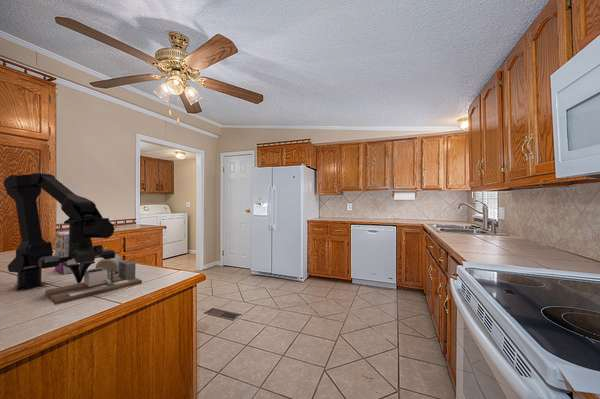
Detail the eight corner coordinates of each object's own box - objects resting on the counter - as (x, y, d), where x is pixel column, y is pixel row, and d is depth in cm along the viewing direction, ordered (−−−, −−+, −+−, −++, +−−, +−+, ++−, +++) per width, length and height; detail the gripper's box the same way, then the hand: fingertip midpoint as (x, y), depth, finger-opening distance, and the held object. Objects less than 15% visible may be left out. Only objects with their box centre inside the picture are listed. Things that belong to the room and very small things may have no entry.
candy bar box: (53, 270, 104) (54, 232, 104) (69, 267, 108) (69, 231, 108) (61, 275, 98) (62, 234, 98) (78, 272, 102) (78, 233, 102)
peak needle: (110, 282, 84) (110, 269, 84) (112, 282, 85) (112, 269, 85) (111, 283, 84) (111, 270, 84) (113, 282, 84) (113, 269, 84)
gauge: (83, 283, 85) (83, 269, 85) (111, 277, 92) (111, 265, 92) (92, 289, 80) (93, 275, 80) (121, 282, 86) (121, 269, 86)
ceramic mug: (93, 277, 96) (94, 258, 96) (100, 271, 103) (101, 253, 103) (126, 274, 100) (126, 256, 100) (130, 269, 108) (130, 252, 108)
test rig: (45, 293, 79) (45, 272, 79) (126, 275, 98) (126, 258, 98) (55, 304, 71) (55, 280, 71) (141, 283, 90) (142, 264, 90)
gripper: (45, 243, 70) (44, 297, 70) (121, 236, 85) (120, 280, 85) (38, 239, 76) (37, 288, 76) (110, 233, 92) (109, 274, 92)
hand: (79, 282), depth 82 cm, fingers closed
